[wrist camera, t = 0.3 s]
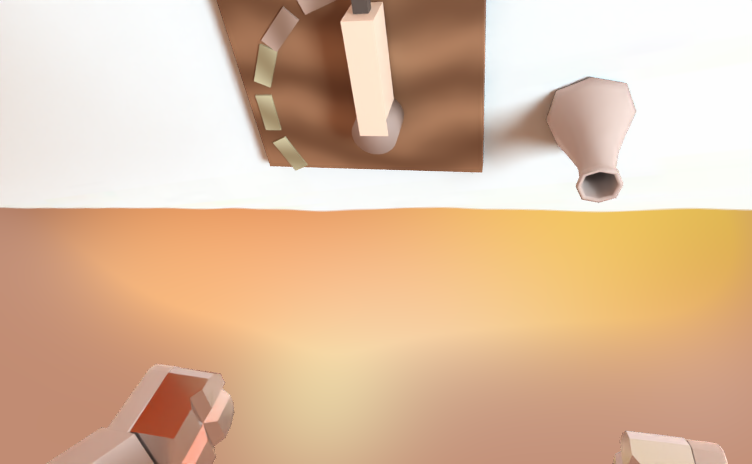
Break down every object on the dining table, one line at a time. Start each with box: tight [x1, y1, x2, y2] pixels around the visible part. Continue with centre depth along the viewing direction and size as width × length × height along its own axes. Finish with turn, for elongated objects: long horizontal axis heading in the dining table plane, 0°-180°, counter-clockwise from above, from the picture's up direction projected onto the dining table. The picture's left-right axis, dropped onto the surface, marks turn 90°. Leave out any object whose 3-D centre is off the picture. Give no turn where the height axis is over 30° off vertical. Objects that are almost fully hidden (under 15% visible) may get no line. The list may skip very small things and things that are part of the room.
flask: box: [546, 77, 636, 203], centre depth 42 cm, size 7×7×10 cm
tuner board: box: [217, 0, 486, 172], centre depth 47 cm, size 19×22×2 cm
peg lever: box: [340, 0, 404, 154], centre depth 43 cm, size 14×4×4 cm, turn 7°
